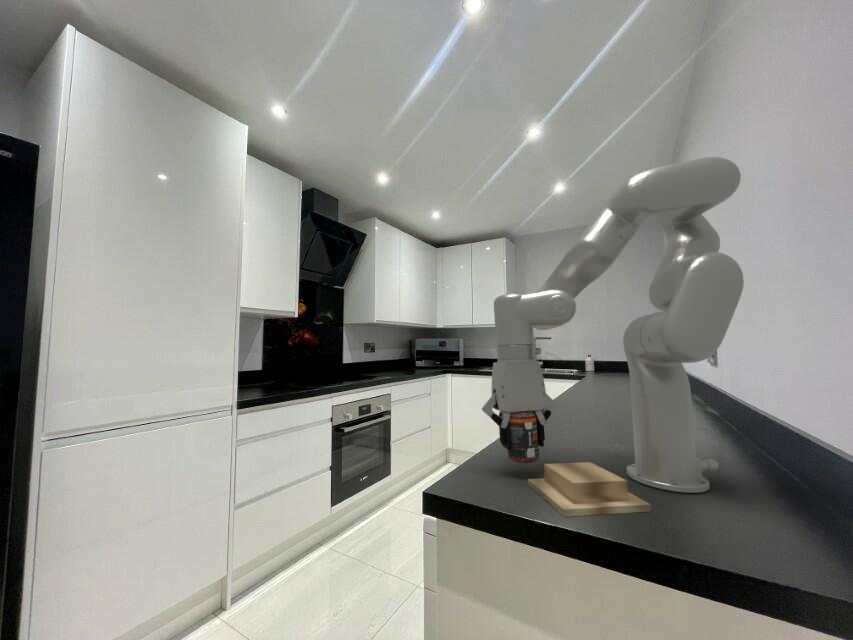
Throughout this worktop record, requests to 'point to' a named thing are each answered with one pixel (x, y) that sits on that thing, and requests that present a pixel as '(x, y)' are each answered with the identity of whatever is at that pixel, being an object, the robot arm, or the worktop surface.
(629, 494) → the oak base
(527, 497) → the worktop surface
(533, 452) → the supplement bottle
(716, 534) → the worktop surface
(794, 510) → the worktop surface
